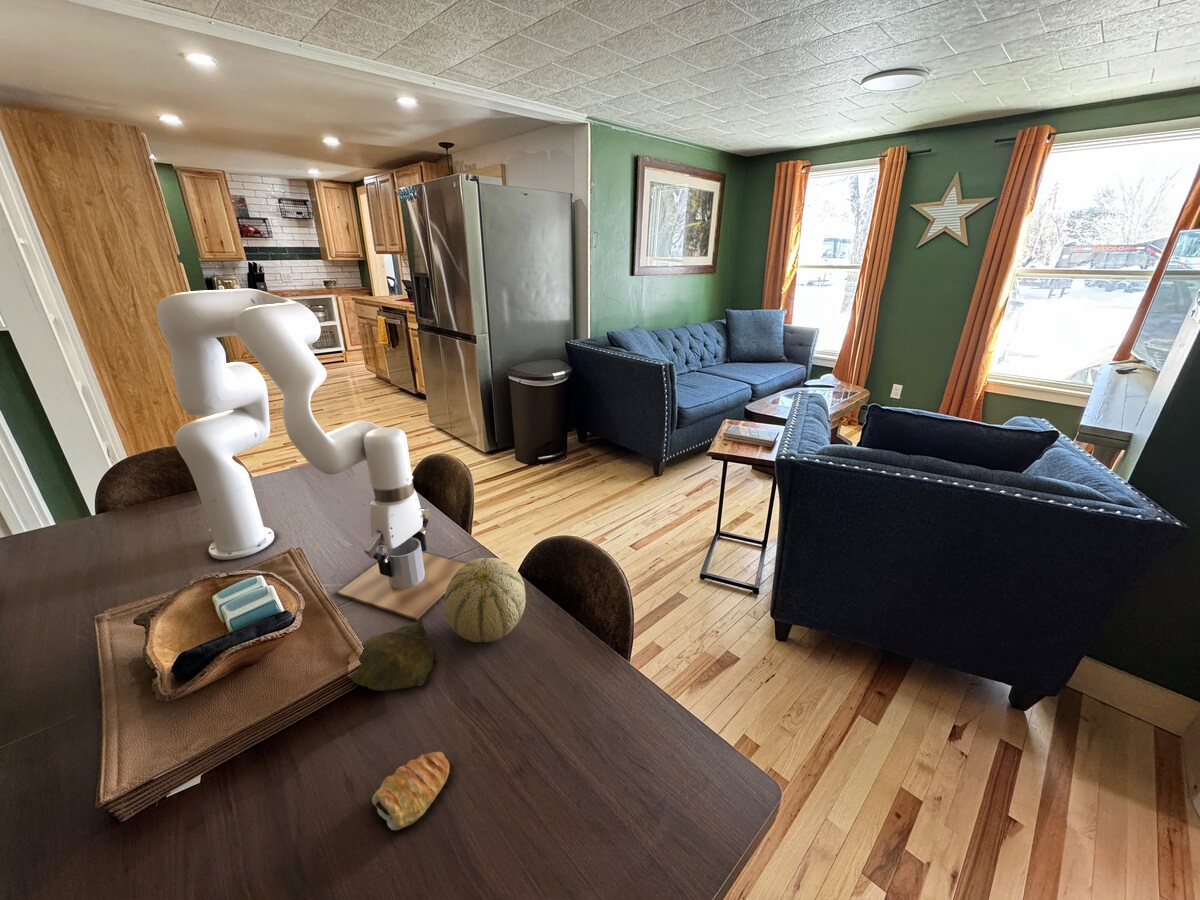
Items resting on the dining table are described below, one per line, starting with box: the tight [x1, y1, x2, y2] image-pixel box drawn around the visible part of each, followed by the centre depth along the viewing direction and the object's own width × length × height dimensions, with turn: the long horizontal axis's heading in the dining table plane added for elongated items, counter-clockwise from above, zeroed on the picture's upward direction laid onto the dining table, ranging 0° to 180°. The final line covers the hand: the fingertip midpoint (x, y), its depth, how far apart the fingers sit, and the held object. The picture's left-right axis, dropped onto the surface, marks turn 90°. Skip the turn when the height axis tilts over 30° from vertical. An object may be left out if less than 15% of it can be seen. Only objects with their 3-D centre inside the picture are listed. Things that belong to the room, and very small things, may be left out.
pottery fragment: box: [350, 619, 435, 692], centre depth 80 cm, size 13×14×4 cm
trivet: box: [337, 551, 466, 621], centre depth 101 cm, size 20×18×1 cm
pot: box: [383, 537, 425, 589], centre depth 100 cm, size 7×7×8 cm
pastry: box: [371, 751, 451, 831], centre depth 61 cm, size 9×7×4 cm
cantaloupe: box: [443, 557, 527, 643], centre depth 86 cm, size 15×15×15 cm
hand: (404, 561), depth 100 cm, fingers open, 9 cm apart
